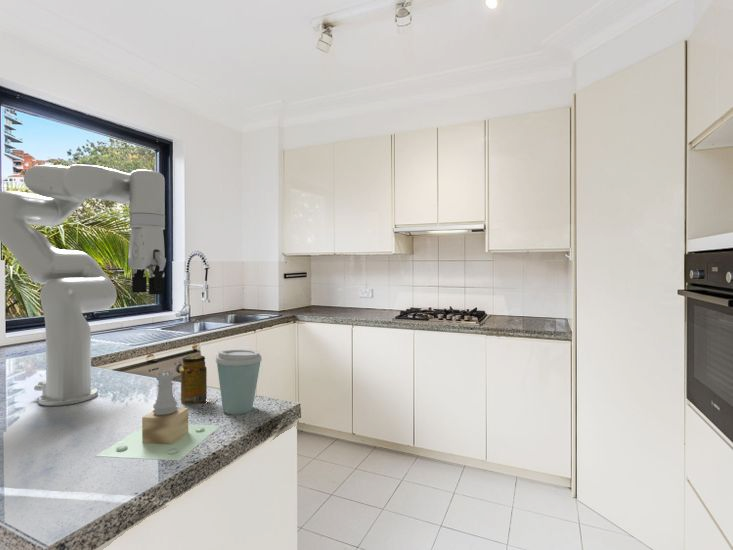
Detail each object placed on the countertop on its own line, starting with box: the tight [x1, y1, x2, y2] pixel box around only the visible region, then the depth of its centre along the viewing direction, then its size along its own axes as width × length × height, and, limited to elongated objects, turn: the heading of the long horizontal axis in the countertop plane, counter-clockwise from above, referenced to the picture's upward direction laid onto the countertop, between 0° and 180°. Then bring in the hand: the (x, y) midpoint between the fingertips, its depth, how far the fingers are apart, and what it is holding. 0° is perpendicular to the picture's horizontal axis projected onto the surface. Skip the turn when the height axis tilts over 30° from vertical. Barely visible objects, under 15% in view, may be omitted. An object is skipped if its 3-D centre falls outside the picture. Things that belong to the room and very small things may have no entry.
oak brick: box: [141, 406, 189, 444], centre depth 82 cm, size 6×6×5 cm
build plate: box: [94, 423, 221, 462], centre depth 81 cm, size 16×16×1 cm
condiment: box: [180, 354, 219, 406], centre depth 104 cm, size 7×8×12 cm
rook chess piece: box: [152, 370, 178, 416], centre depth 82 cm, size 4×4×8 cm
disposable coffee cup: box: [215, 349, 263, 415], centre depth 98 cm, size 11×11×15 cm
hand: (147, 293), depth 99 cm, fingers open, 9 cm apart
